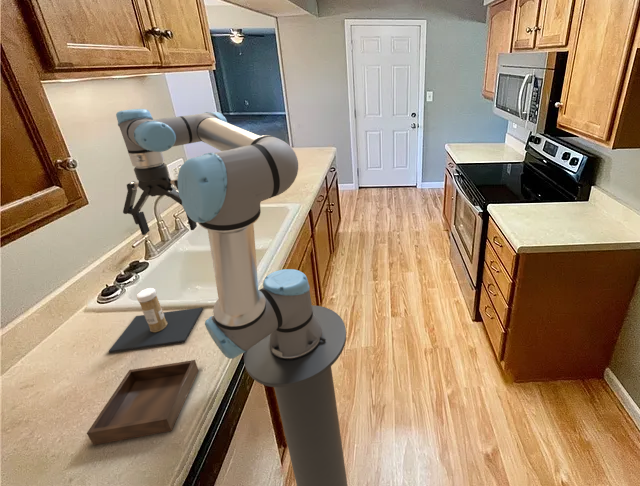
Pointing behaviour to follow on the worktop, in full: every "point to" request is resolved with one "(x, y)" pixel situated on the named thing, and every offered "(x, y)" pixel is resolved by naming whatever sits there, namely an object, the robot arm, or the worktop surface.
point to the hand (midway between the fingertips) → (170, 230)
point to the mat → (142, 337)
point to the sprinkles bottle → (152, 309)
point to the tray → (145, 402)
